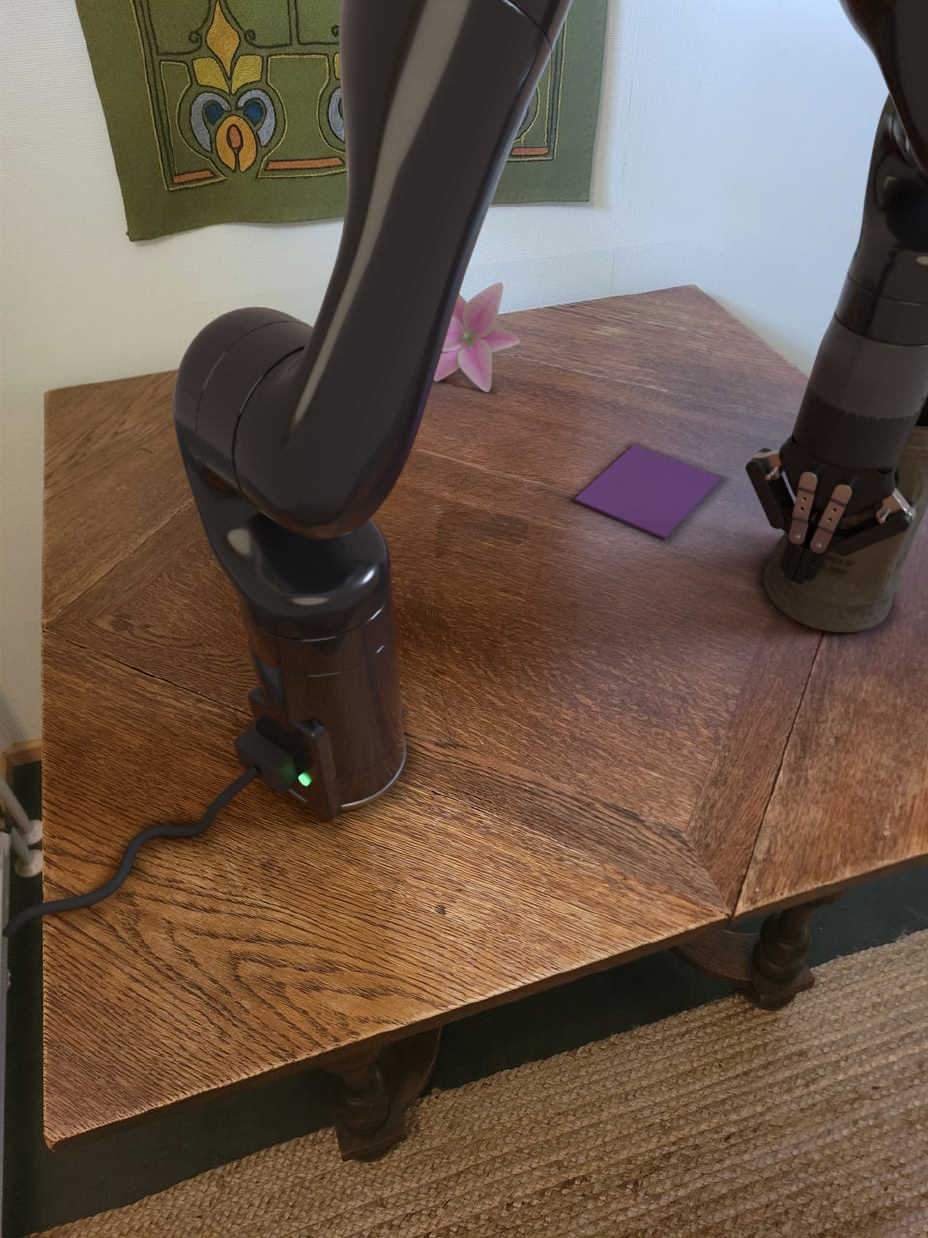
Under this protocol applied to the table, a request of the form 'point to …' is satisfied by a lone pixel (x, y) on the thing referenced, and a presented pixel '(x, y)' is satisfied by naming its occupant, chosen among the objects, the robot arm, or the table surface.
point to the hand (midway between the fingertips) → (797, 576)
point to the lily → (475, 338)
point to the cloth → (648, 490)
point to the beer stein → (857, 560)
